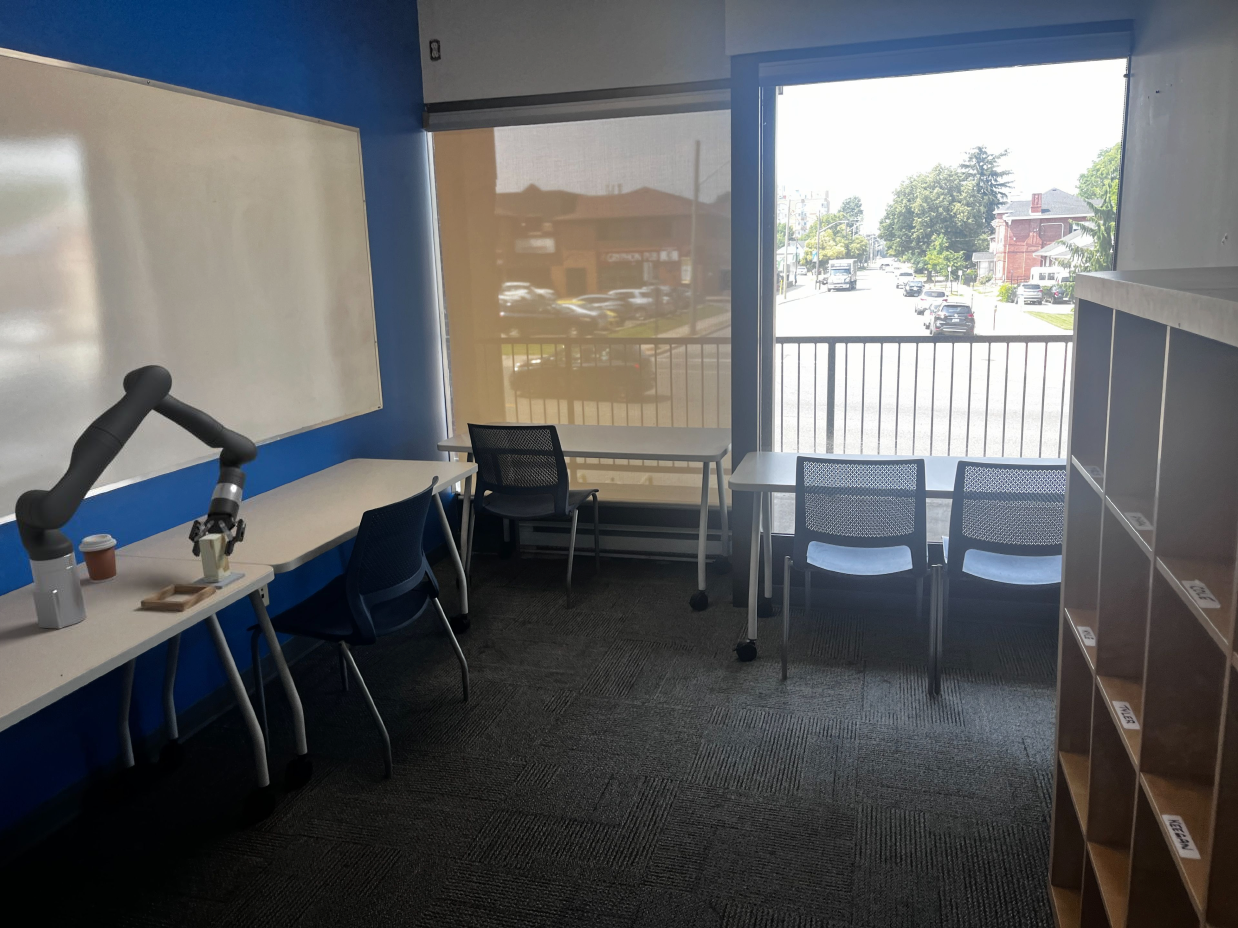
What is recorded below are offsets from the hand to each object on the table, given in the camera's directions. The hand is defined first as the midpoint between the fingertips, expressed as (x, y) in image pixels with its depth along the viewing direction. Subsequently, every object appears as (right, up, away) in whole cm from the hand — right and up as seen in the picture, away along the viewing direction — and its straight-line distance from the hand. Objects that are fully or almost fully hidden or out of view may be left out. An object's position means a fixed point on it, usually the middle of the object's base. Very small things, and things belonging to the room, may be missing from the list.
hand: (211, 555), depth 239 cm
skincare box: (+1, -7, +3) cm, 7 cm away
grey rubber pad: (0, -7, +3) cm, 8 cm away
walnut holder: (-4, -11, -10) cm, 15 cm away
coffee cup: (-34, -8, +9) cm, 36 cm away
